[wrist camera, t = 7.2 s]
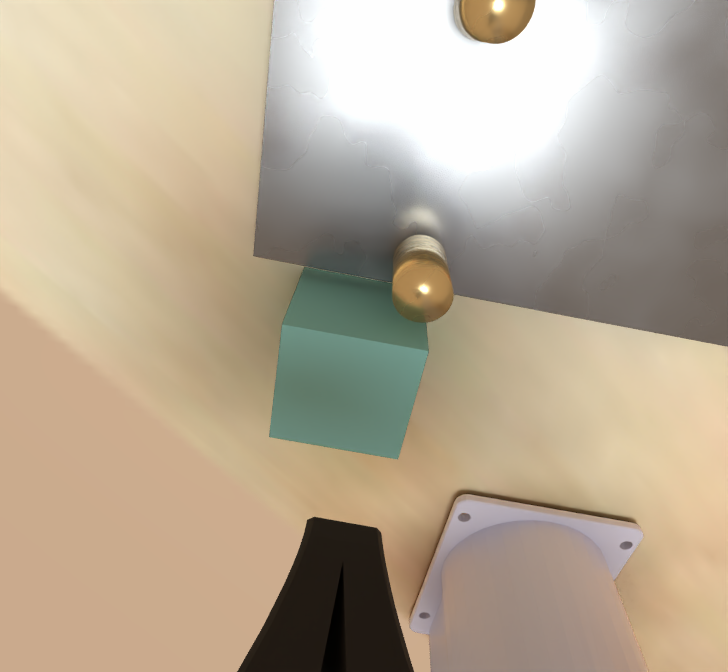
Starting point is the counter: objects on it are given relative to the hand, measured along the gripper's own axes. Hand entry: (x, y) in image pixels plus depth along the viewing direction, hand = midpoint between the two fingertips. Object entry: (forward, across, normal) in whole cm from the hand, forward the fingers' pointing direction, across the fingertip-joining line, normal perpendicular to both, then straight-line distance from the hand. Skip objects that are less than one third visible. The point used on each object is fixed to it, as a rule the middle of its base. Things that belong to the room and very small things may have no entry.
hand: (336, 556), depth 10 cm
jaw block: (+10, 0, 0) cm, 10 cm away
